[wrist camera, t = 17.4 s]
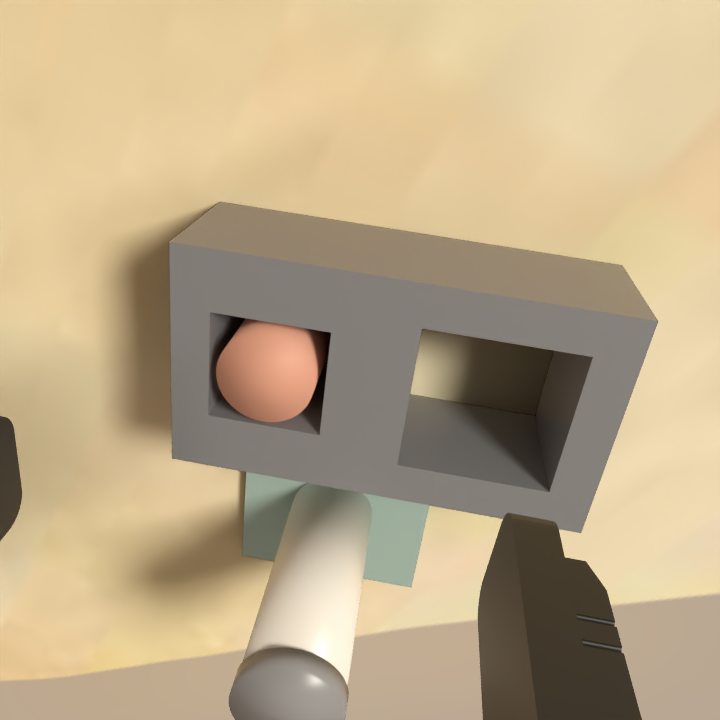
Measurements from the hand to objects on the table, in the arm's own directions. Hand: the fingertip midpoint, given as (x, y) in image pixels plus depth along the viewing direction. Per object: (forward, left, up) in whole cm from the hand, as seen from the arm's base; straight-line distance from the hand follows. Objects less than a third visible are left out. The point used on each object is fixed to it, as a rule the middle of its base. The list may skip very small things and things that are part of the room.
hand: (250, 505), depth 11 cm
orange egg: (-3, -6, -20) cm, 22 cm away
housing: (+2, -6, -21) cm, 22 cm away
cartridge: (0, -17, -20) cm, 27 cm away
